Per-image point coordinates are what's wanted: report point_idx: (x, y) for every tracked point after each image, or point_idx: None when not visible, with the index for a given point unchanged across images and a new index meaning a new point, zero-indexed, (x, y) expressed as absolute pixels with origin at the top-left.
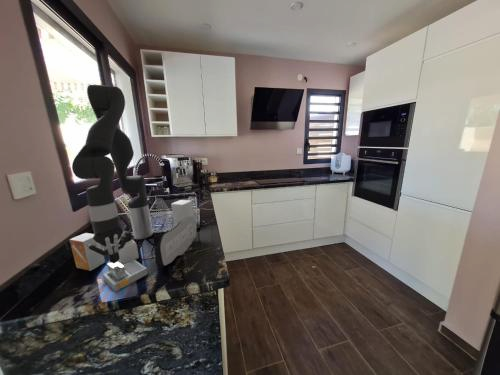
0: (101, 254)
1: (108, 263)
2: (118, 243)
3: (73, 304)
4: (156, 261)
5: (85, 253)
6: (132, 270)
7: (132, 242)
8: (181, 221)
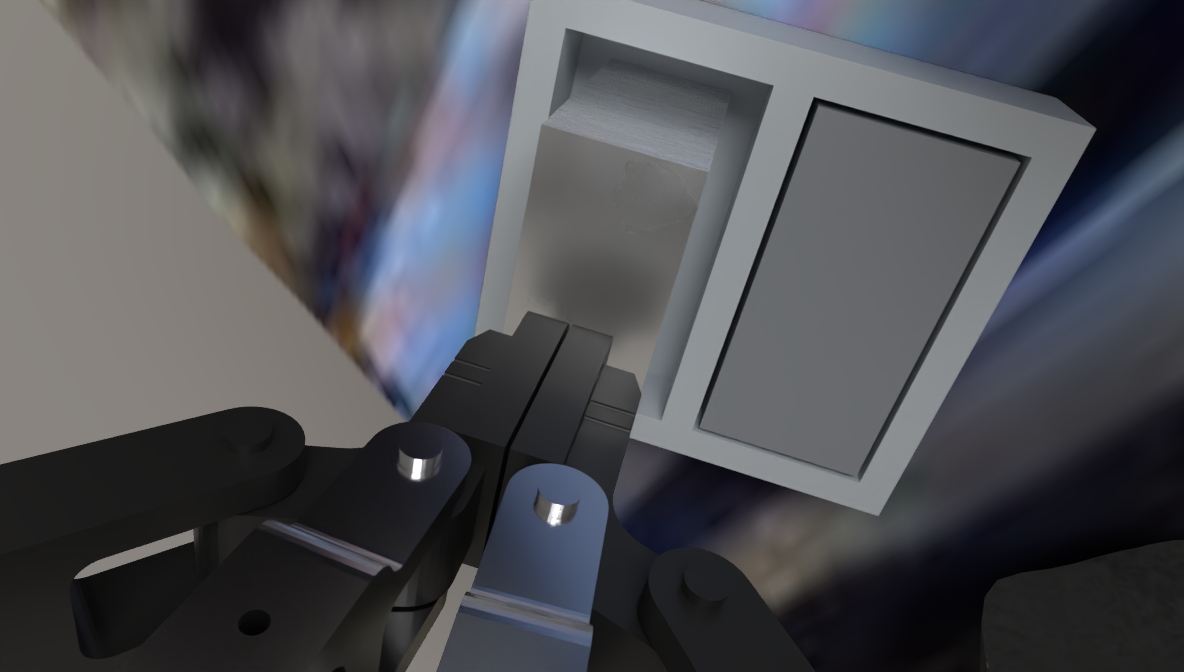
0: (177, 572)
1: (560, 136)
2: (678, 660)
3: (176, 65)
4: (981, 653)
5: None
6: (772, 372)
7: None
8: None
